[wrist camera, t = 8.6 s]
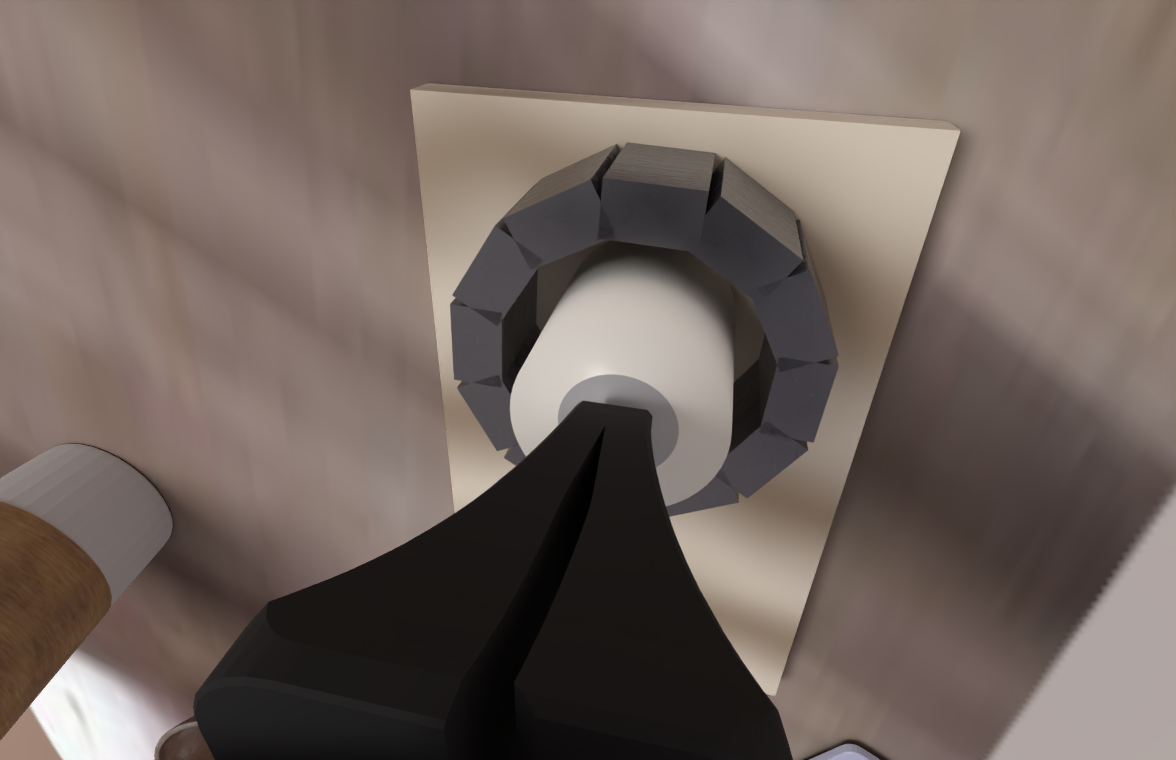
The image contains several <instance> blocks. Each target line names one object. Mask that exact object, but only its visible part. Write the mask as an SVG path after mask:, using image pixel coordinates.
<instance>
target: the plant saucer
mask: <svg viewBox="0 0 1176 760" xmlns="http://www.w3.org/2000/svg"><path fill="white" fill-rule="evenodd" d="M154 757H155V760H215V759H214V757H213V755H212V753H211V751H210V749H209V747H208V745H207V743H206V741H205V739H204V738H203V736H202V734H201V732H200V730H199V727H198V724H197V721H196V718H195V716H193V717H191V718H189V719H188V720H186V721H184V722H182V723H180V724H179V725H177V726H176V727H174V728H173V729H171V730H169V731H168V732H167V733H165V734H164V735H163V736H162V737H161V739H160V740H159V742H158V743H157V746H156V748H155V755H154Z"/></svg>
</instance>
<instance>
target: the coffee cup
mask: <svg viewBox="0 0 1176 760" xmlns="http://www.w3.org/2000/svg"><path fill="white" fill-rule="evenodd" d="M172 528H173V523H172V516H171V514H170V511H169V508H168V506H167V505H166V503H165V501H164V499H163V498H162V496H161V495H160V494H159V492H158V491H157V490H156V489H155V487H154V486H153V485H152V484H151V483H150V482H149V481H148V480H147V479H146V478H145V477H144V476H143V475H142V474H140V473H139V472H138V471H137V470H135V469H134V468H133V467H131V466H130V465H128V464H127V463H125V462H124V461H122V460H121V459H119V458H117V457H115V456H113V455H111V454H109V453H107V452H105V451H102V450H100V449H97V448H94V447H91V446H87V445H82V444H63V445H57V446H55V447H53V448H51V449H49V450H47V451H46V452H44V453H42V454H40V455H39V456H37V457H35V458H33V459H32V460H30V461H28V462H27V463H25V464H23V465H22V466H20V467H18V468H17V469H15V470H13V471H12V472H10V473H8V474H7V475H5V476H3V477H2V478H0V740H1V739H2V738H3V737H4V736H5V734H6V733H7V732H8V731H9V729H10V728H11V727H12V726H13V725H14V724H15V722H16V721H17V720H18V719H19V717H20V716H21V715H22V714H23V713H24V712H25V710H26V709H27V708H28V707H29V706H30V704H31V703H32V702H33V701H34V700H35V698H36V697H37V696H38V695H39V694H40V692H41V691H42V690H43V689H44V688H45V686H46V685H47V684H48V683H49V682H50V680H51V679H52V678H53V677H54V676H55V674H56V673H57V672H58V671H59V670H60V668H61V667H62V666H63V665H64V664H65V662H66V661H67V660H68V659H69V658H70V656H71V655H72V654H73V653H74V652H75V650H76V649H77V648H78V647H79V646H80V644H81V643H82V642H83V641H84V640H85V638H86V637H87V636H88V635H89V634H90V632H91V631H92V630H93V629H94V628H95V626H96V625H97V624H98V623H99V622H100V620H101V619H102V618H103V617H104V616H105V614H106V613H107V612H108V610H109V608H110V607H111V606H112V604H113V603H114V602H115V601H116V600H117V599H118V598H119V596H120V595H121V594H122V593H123V592H124V591H125V590H126V588H127V587H128V586H129V585H130V584H131V583H132V582H133V580H134V579H135V578H136V577H137V576H138V575H139V574H140V572H141V571H142V570H143V569H144V568H145V567H146V566H147V564H148V563H149V562H150V561H151V560H152V559H153V558H154V556H155V555H156V554H157V553H158V552H159V551H160V549H161V548H162V547H163V546H164V545H165V543H166V542H167V541H168V539H169V537H170V536H171V533H172Z"/></svg>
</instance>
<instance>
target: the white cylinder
mask: <svg viewBox="0 0 1176 760" xmlns="http://www.w3.org/2000/svg"><path fill="white" fill-rule="evenodd" d="M735 322H736V309H735V301H734V295H733V292H732V289H731V286H730V284H729V282H728V281H727V280H726V279H725V278H723V277H722V276H721V275H719V274H718V273H717V272H715V271H714V270H713V269H711V268H710V267H709V266H708V265H706V264H705V263H704V262H702V261H701V260H700V259H698V258H697V257H696V256H694V255H693V254H692V253H690V252H689V251H684V250H677V249H670V248H663V247H656V246H649V245H642V244H635V243H627V242H620V241H613V240H610V241H608V242H606V243H604V244H602V245H601V246H599V247H598V248H597V249H595V250H594V251H593V252H592V253H590V254H589V255H588V256H587V257H586V258H585V259H584V261H583V262H582V263H581V264H580V265H579V267H578V269H577V270H576V272H575V274H574V275H573V277H572V279H571V281H570V282H569V284H568V286H567V288H566V290H565V291H564V293H563V295H562V297H561V298H560V300H559V302H558V304H557V306H556V307H555V309H554V311H553V313H552V314H551V316H550V318H549V320H548V322H547V323H546V325H545V327H544V329H543V330H542V332H541V334H540V336H539V338H538V339H537V341H536V343H535V345H534V346H533V348H532V350H531V352H530V354H529V355H528V357H527V359H526V361H525V362H524V364H523V366H522V368H521V370H520V371H519V373H518V375H517V377H516V380H515V382H514V385H513V388H512V393H511V398H510V416H511V423H512V427H513V431H514V434H515V436H516V439H517V441H518V444H519V445H520V447H521V449H522V451H523V453H524V454H525V456H527V455H528V454H529V453H530V452H532V451H533V450H534V449H535V448H536V447H537V446H538V445H539V444H540V443H541V442H542V441H543V440H544V439H545V438H546V437H547V436H548V435H549V434H550V433H551V432H552V431H553V430H554V429H555V428H556V427H557V426H558V425H559V424H560V423H561V422H562V421H563V419H564V418H565V417H566V416H567V415H568V414H569V413H570V412H571V411H572V409H573V408H574V407H575V406H576V405H577V404H578V403H580V402H581V401H583V400H584V401H591V402H597V403H604V404H611V405H618V406H625V407H632V408H638V409H645V410H648V411H649V412H650V413H651V415H652V416H653V419H652V428H651V439H652V448H653V456H654V461H655V467H656V471H657V475H658V479H659V483H660V488H661V492H662V495H663V499H664V502H665V505H666V506H669V505H672V504H675V503H678V502H680V501H682V500H685V499H687V498H689V497H690V496H692V495H694V494H696V493H697V492H698V491H700V490H701V489H702V488H704V487H705V486H706V485H707V484H708V483H709V482H710V481H711V480H712V479H713V478H714V477H715V476H716V474H717V473H718V471H719V470H720V469H721V467H722V465H723V463H724V461H725V459H726V457H727V454H728V451H729V448H730V443H731V436H732V413H733V383H734V352H735Z"/></svg>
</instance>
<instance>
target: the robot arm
mask: <svg viewBox="0 0 1176 760" xmlns="http://www.w3.org/2000/svg"><path fill="white" fill-rule="evenodd" d="M652 419H653V416H652V415H651V413H650V412H649V411H648V410H645V409H638V408H632V407H625V406H618V405H611V404H604V403H597V402H591V401H584V400H583V401H581V402H580V403H578V404H577V405H576V406H575V407H574V408H573V409H572V411H571V412H570V413H569V414H568V415H567V416H566V417H565V418H564V419H563V421H562V422H561V423H560V424H559V425H558V426H557V427H556V428H555V429H554V430H553V431H552V432H551V433H550V434H549V435H548V436H547V437H546V438H545V439H544V440H543V441H542V442H541V443H540V444H539V445H538V446H537V447H536V448H535V449H534V450H533V451H532V452H530V453H529V454H528V455H527V456H526V457H525V458H524V459H523V460H522V461H521V462H520V463H519V464H518V465H516V466H515V467H514V468H513V469H512V470H510V471H509V472H508V473H507V474H506V475H504V476H503V477H502V478H501V479H500V480H498V481H497V482H496V483H495V484H494V485H492V486H491V487H490V488H489V489H488V490H486V491H485V492H484V493H482V494H481V495H480V496H478V497H477V498H476V499H474V500H473V501H472V502H470V503H469V504H467V505H466V506H465V507H463V508H462V509H460V510H459V511H457V512H456V513H454V514H453V515H451V516H450V517H448V518H447V519H445V520H444V521H442V522H440V523H439V524H437V525H436V526H434V527H432V528H431V529H429V530H427V531H426V532H424V533H422V534H420V535H419V536H417V537H415V538H413V539H412V540H410V541H408V542H407V543H405V544H403V545H401V546H399V547H397V548H395V549H393V550H391V551H389V552H387V553H385V554H383V555H381V556H379V557H377V558H375V559H373V560H371V561H369V562H367V563H365V564H362V565H360V566H358V567H356V568H354V569H352V570H349V571H347V572H345V573H342V574H340V575H338V576H335V577H333V578H331V579H328V580H325V581H323V582H320V583H318V584H315V585H312V586H310V587H307V588H305V589H302V590H299V591H297V592H294V593H292V594H289V595H286V596H284V597H281V598H278V599H275V600H272V601H270V602H268V603H267V604H266V606H265V607H264V608H263V609H262V610H261V611H260V612H259V614H258V615H257V616H256V617H255V618H254V619H253V620H252V621H251V622H250V624H249V625H248V626H247V627H246V628H245V629H244V631H243V632H242V633H241V635H240V636H239V637H238V638H237V640H236V641H235V642H234V644H233V645H232V646H231V648H230V649H229V650H228V652H227V653H226V654H225V656H224V657H223V658H222V660H221V661H220V662H219V664H218V665H217V666H216V668H215V669H214V670H213V672H212V673H211V674H210V676H209V677H208V678H207V679H206V681H205V682H204V683H203V685H202V686H201V687H200V689H199V690H198V691H197V693H196V694H195V700H194V707H193V708H194V714H195V718H196V721H197V724H198V727H199V730H200V732H201V734H202V736H203V738H204V739H205V741H206V743H207V745H208V747H209V749H210V751H211V753H212V755H213V757H214V759H215V760H793V758H792V755H791V751H790V748H789V744H788V741H787V737H786V734H785V731H784V728H783V725H782V721H781V718H780V715H779V712H778V710H777V708H776V707H775V706H774V704H773V703H772V702H771V700H770V699H769V698H768V696H767V695H766V693H765V692H764V691H763V689H762V688H761V687H760V685H759V684H758V683H757V681H756V680H755V678H754V677H753V675H752V674H751V673H750V671H749V670H748V668H747V667H746V665H745V664H744V663H743V661H742V660H741V658H740V656H739V655H738V653H737V652H736V650H735V649H734V647H733V646H732V644H731V642H730V641H729V639H728V638H727V636H726V635H725V633H724V631H723V630H722V628H721V626H720V624H719V623H718V621H717V619H716V617H715V615H714V614H713V612H712V610H711V608H710V606H709V605H708V603H707V601H706V599H705V598H704V596H703V594H702V592H701V590H700V588H699V587H698V584H697V582H696V580H695V578H694V576H693V574H692V572H691V570H690V568H689V566H688V563H687V561H686V559H685V556H684V554H683V552H682V549H681V547H680V545H679V542H678V540H677V537H676V535H675V532H674V529H673V526H672V524H671V521H670V518H669V515H668V511H667V508H666V505H665V502H664V499H663V495H662V492H661V488H660V483H659V479H658V475H657V471H656V467H655V461H654V456H653V448H652V439H651V428H652ZM809 760H880V759H879V758H877V757H875V756H874V755H872V754H871V753H869V752H867V751H866V750H864V749H863V748H861V747H860V746H857V745H855V744H844V745H841V746H839V747H836V748H834V749H832V750H830V751H827V752H825V753H823V754H821V755H818V756H816V757H814V758H812V759H809Z"/></svg>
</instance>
